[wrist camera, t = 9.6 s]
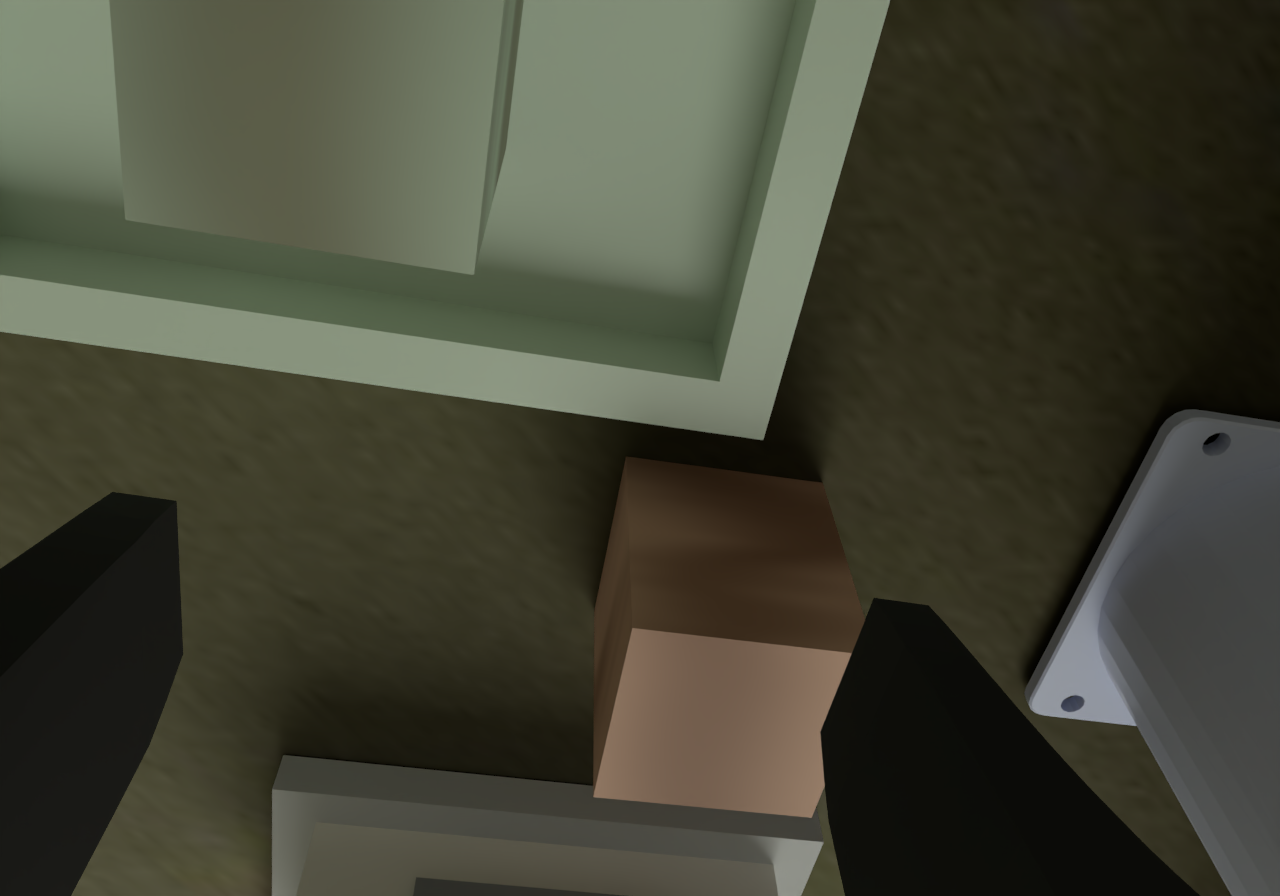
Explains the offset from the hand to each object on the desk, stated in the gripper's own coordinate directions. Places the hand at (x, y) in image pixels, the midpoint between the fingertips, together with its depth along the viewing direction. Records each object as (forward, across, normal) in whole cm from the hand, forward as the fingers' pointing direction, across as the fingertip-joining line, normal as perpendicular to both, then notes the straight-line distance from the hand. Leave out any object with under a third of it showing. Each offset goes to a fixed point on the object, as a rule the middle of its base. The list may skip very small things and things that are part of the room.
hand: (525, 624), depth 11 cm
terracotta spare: (+9, -4, +6) cm, 11 cm away
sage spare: (+8, +3, -4) cm, 10 cm away
